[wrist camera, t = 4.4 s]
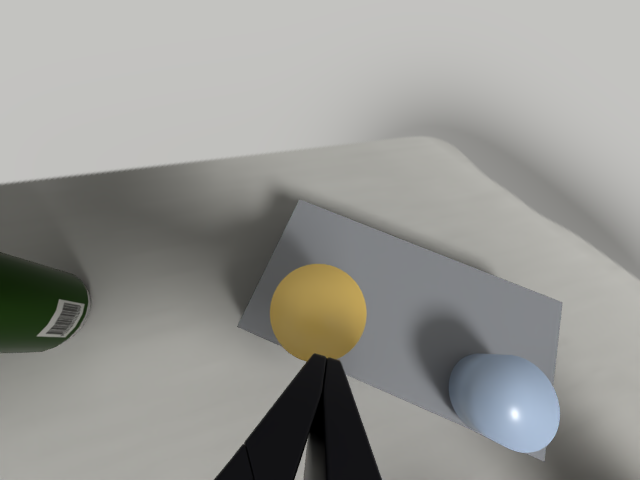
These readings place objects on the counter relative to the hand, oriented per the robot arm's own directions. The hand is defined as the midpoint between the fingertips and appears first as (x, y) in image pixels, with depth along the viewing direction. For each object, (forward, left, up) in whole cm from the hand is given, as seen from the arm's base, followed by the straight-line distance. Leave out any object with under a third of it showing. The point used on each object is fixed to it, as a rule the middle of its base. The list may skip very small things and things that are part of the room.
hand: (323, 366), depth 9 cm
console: (-1, -6, -12) cm, 14 cm away
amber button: (+2, -1, -9) cm, 9 cm away
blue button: (-6, -7, -11) cm, 14 cm away
